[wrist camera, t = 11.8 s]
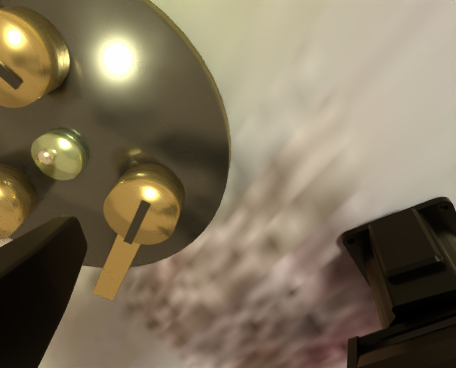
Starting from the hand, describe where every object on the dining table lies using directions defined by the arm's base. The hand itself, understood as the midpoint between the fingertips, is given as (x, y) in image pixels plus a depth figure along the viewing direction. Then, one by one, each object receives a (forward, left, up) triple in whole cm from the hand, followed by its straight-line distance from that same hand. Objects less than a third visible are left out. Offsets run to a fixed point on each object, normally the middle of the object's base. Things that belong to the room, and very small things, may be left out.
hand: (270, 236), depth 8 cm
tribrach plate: (+3, +12, -12) cm, 17 cm away
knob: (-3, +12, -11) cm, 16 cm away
